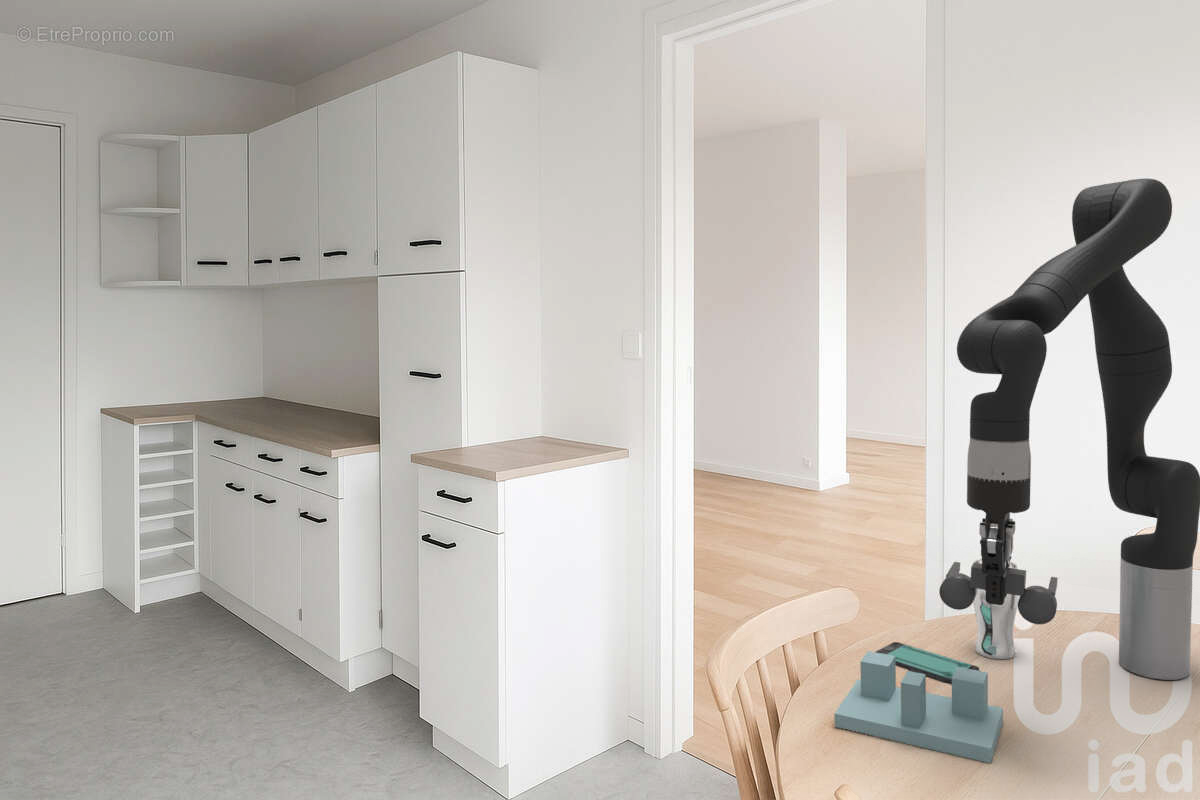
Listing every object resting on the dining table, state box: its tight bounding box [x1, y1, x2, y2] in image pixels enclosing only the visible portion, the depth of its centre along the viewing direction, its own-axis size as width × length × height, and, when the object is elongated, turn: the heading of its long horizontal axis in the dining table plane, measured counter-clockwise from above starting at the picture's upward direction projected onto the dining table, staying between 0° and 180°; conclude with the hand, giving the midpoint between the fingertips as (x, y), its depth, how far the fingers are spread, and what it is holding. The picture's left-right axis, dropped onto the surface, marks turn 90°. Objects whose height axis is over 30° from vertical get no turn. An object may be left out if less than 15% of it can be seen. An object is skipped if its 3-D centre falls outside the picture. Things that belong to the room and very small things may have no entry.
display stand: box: [833, 650, 1004, 764], centre depth 115 cm, size 12×20×8 cm, turn 57°
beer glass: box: [972, 558, 1019, 660], centre depth 136 cm, size 7×7×15 cm
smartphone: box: [875, 641, 980, 685], centre depth 134 cm, size 7×1×15 cm
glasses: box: [939, 561, 1059, 625], centre depth 113 cm, size 9×14×6 cm
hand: (996, 599), depth 110 cm, fingers closed on glasses, 2 cm apart
